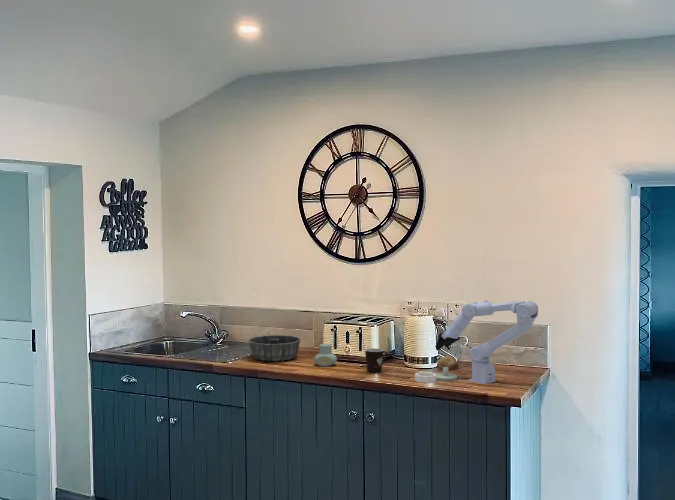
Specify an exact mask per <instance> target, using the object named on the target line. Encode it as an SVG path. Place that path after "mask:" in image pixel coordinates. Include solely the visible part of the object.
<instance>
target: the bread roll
mask: <svg viewBox="0 0 675 500" xmlns="http://www.w3.org/2000/svg"><path fill="white" fill-rule="evenodd" d="M436 363H437V364H436V369H438V370H442V371H443V367H448V371H455V370H459V368H460V366H459V362H458V361H457V360H456V358H454V357H453V356H449V355H446V356H442V357H440V358H439V360H438V361H437V362H436Z"/></svg>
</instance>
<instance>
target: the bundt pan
mask: <svg viewBox="0 0 675 500" xmlns="http://www.w3.org/2000/svg"><path fill="white" fill-rule="evenodd" d="M247 341H248V343H249V347H250V353H251V356H253V357H254V359H255V360H257V361H264V362H266V361H267V362H268V363H270V362H272V361H273V362H279V361H280V362H284V361H290V360H292V359H295V358H296V357H297V355H298V353H299V349H300V342H301V341H302V338H300V337H299V336H294V335H285V334H271V335H261V336H254V337H251V338H249V339H248V340H247Z"/></svg>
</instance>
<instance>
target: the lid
mask: <svg viewBox="0 0 675 500" xmlns="http://www.w3.org/2000/svg"><path fill="white" fill-rule="evenodd" d="M435 374H436V380H437V379H441V380H452V381H454V380H453V379H457V376H458V375H457V374H455V373H449V370H448V367H443V370H442V372H441V373H435ZM441 380H440V381H441Z"/></svg>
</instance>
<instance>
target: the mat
mask: <svg viewBox="0 0 675 500" xmlns="http://www.w3.org/2000/svg"><path fill="white" fill-rule="evenodd" d="M463 379H465V377H463V376H459V375H457V379H453V380H441V379H436V381H441V382H451V381H452V382H453V381H457V380H463Z"/></svg>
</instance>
